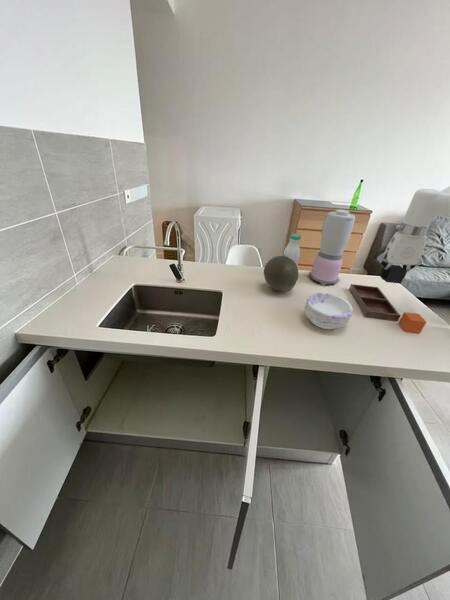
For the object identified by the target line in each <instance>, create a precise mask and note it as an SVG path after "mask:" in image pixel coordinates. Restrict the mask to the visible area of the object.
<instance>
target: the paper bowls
mask: <svg viewBox="0 0 450 600" xmlns="http://www.w3.org/2000/svg"><path fill="white" fill-rule="evenodd" d="M303 312H304V315H305V316H306V318H307V319H308V320H309V321H310V322H311V323H312V324H313V325H314V326H316V327H317V328H320V329H324V330H335V329H338V328H344V327H345V326H347V325H348V324H349V322H350V320H351V318H352V315H353V313H354V308H353V306H352V304H351V303H350V302H349V301H347V300H346V299H344V298H343V297H341V296H339V295H336V294H333V293H328V292H314V293H312V294H311V293H310V295H308V297H307V298H306V301H305V305H304V309H303Z"/></svg>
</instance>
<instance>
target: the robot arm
mask: <svg viewBox="0 0 450 600" xmlns="http://www.w3.org/2000/svg"><path fill="white" fill-rule="evenodd" d="M435 217H441V218H444V219H450V185H449V186H447V187H445V188H444V189H443V190H438V189H432V188H431V189H430V188H420V189H417V190H416V191H415V192H414V194H413V196H412V198H411V201H410V203H409V205H408V207H407V210H406V212H405V215H404V217H403V219H402V222H401V223H400V224H397V225H396V226H395V229H396V230H397V231H396V232H395V233H394V234H393V236H392V237H391V239H390V240H389V242H388V244H387V246H386V248H385V251H384V252H382V253H380V255H378V256H377V257H376V260H377V261H378V262H379V263H380V266H381V267H382V268H381V271H380V273H379V277H380V279H381V280H383V281H385V279H386V277H387V275H388V272H389V270H388V269H389V267H390V266H391V265H402V266H401V267H402V268H404V269H405V270H406V273H405V275H404V277H403V279H402V281H403V280H404V279H405V277H406V275H407V273H409V272H410V271H411V270H412V269H415V268H416V267H418V266H421V265H422V264H423V261H422V256H423V253H424V251H425V248H426V244H427V240H428V236H427V232H428V231H429V229H430V227H431V225H432V222H433V220H434V218H435ZM384 259H385V260H384Z"/></svg>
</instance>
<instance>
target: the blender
mask: <svg viewBox="0 0 450 600" xmlns="http://www.w3.org/2000/svg"><path fill="white" fill-rule="evenodd" d="M355 220H356V215H355V214H353V213H350V211H349V210H346V209H336V210H335V211H329V212H328V213H327V215H326V216H325V217H324V220H323V224H322V228H321V233H320V234H321V238H320V248H319V252H318V253H317V254H316V255H315V257H314V259H313V264H312V266H311V267H312V268H311V272H310V276H309V277H310V278H311V279H312V280H314V281H315V282H318V283H320V286H324V287H325V286H327V285H334V286H335V285H336V284H337V283H338V279H339V275H340V272H341V269H342V266H343V253H344V251H345V249H346V247H347V245H348V243H349V241H350V238H351V236H352V232H353V229H354V224H355Z"/></svg>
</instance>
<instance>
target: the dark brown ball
mask: <svg viewBox="0 0 450 600" xmlns="http://www.w3.org/2000/svg"><path fill="white" fill-rule="evenodd" d="M263 276H264V280H265V282H266V283H267V285H268V286H270V288H271V289H273V290H275V291H279V292H287V291H290V290H292V289H293V288H294V287H295V286H296V284H297V282H298V279H299V269H298V267H297V265H296V263H295V262H294V261H293V260H292V259H290V258H288V257H285V256H283V255H277V256H274V257H272V258H270V259H269V260H268V261H267V262H266V263H265V265H264V268H263Z"/></svg>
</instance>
